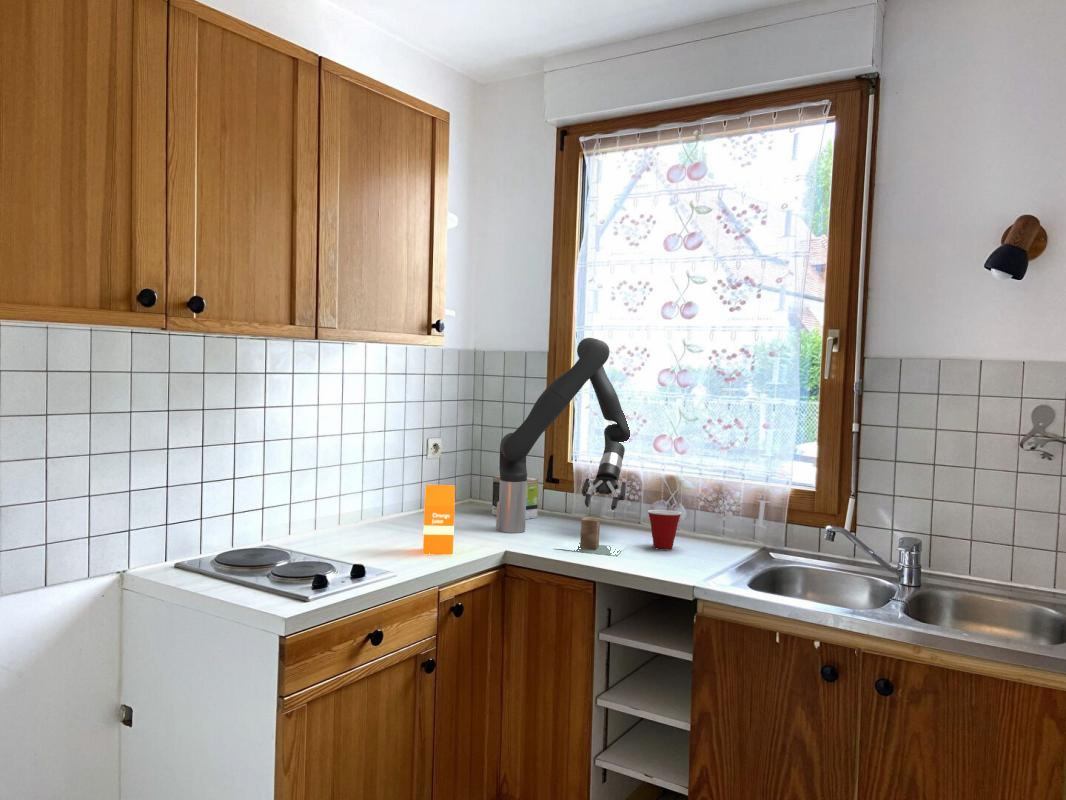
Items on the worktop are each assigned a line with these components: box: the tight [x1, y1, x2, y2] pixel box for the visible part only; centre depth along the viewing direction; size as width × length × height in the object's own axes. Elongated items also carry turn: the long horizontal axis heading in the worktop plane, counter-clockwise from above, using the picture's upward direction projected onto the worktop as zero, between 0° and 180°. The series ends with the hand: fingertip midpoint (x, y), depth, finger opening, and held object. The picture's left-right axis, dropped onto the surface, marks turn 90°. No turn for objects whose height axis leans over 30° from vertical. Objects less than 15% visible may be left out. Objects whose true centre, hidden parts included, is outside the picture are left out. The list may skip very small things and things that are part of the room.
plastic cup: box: [646, 509, 683, 550], centre depth 249 cm, size 11×11×12 cm
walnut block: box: [579, 517, 601, 550], centre depth 244 cm, size 5×4×9 cm
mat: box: [573, 542, 620, 556], centre depth 244 cm, size 20×12×1 cm, turn 72°
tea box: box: [491, 475, 539, 520], centre depth 293 cm, size 15×10×15 cm
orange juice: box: [422, 484, 456, 555], centre depth 233 cm, size 8×9×20 cm
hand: (599, 507), depth 257 cm, fingers open, 8 cm apart
